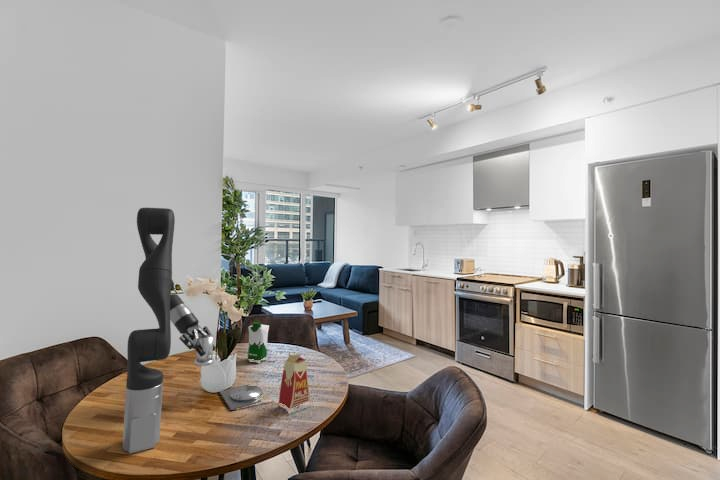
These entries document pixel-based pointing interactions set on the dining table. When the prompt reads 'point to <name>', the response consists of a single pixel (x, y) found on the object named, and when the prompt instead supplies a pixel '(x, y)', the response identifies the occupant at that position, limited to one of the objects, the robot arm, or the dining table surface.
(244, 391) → the plate on grey tray
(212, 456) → the dining table surface
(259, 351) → the soya milk
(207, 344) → the hub
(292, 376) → the milk carton
